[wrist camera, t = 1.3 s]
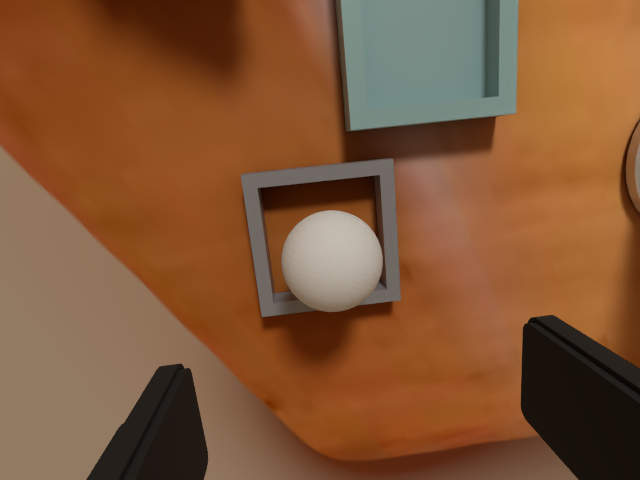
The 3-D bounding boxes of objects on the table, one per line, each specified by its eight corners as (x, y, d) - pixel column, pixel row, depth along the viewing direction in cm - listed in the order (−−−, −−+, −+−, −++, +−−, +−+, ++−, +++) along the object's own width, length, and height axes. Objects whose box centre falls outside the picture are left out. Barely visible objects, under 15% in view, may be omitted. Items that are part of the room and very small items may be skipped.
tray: (498, -59, 25) (520, -82, 23) (496, 116, 28) (515, 113, 25) (331, -46, 24) (335, -67, 22) (345, 132, 27) (350, 130, 25)
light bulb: (313, 285, 30) (322, 350, 20) (269, 225, 28) (255, 265, 19) (375, 243, 29) (415, 289, 20) (333, 181, 28) (353, 196, 18)
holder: (386, 158, 28) (393, 158, 26) (393, 290, 30) (400, 300, 28) (244, 173, 27) (240, 174, 25) (263, 306, 30) (261, 317, 28)
